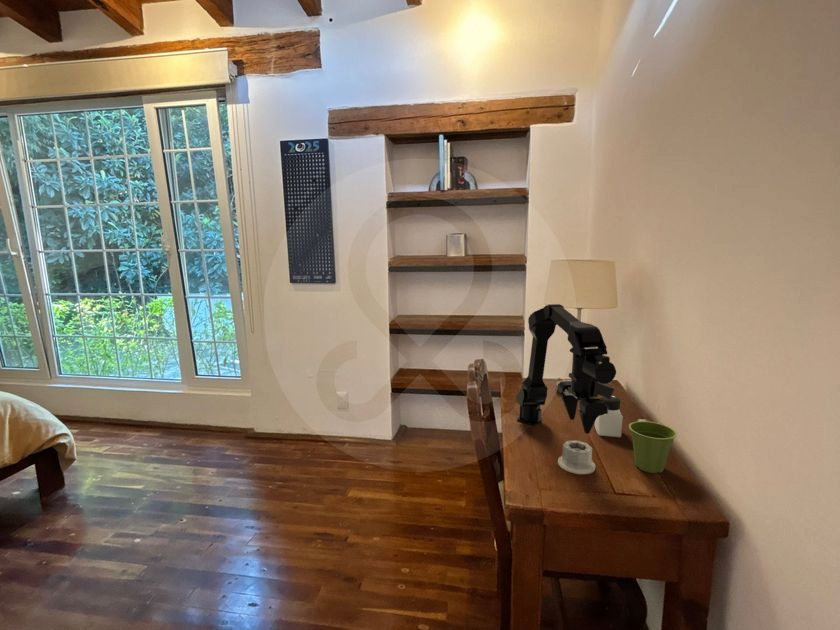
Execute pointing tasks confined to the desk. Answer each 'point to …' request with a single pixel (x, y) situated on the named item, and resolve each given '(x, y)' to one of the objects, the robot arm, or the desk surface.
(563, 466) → the hub post
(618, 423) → the medicine bottle
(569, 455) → the ring
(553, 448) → the desk surface
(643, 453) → the plant pot
